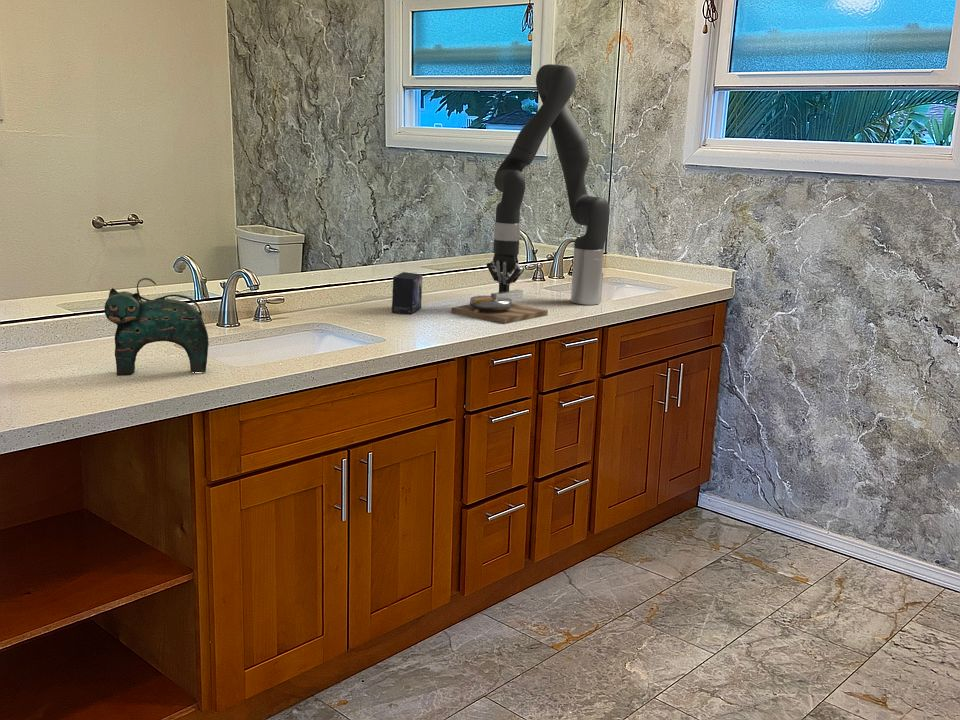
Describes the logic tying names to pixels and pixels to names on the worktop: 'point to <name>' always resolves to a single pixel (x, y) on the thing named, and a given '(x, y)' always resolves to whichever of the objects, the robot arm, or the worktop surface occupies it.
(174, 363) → the worktop surface
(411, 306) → the small box
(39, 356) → the worktop surface
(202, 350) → the ceramic cat
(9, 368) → the worktop surface
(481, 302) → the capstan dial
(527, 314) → the stand
